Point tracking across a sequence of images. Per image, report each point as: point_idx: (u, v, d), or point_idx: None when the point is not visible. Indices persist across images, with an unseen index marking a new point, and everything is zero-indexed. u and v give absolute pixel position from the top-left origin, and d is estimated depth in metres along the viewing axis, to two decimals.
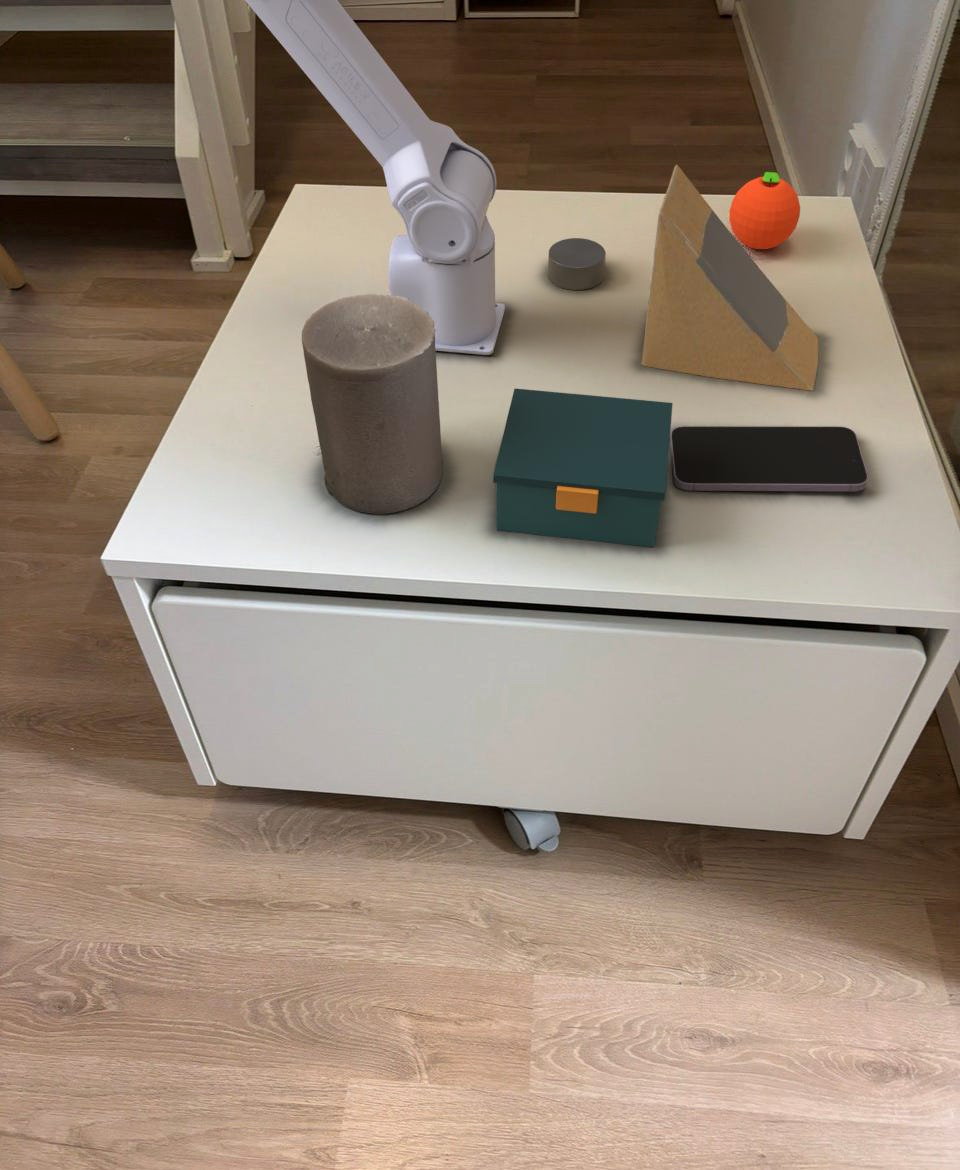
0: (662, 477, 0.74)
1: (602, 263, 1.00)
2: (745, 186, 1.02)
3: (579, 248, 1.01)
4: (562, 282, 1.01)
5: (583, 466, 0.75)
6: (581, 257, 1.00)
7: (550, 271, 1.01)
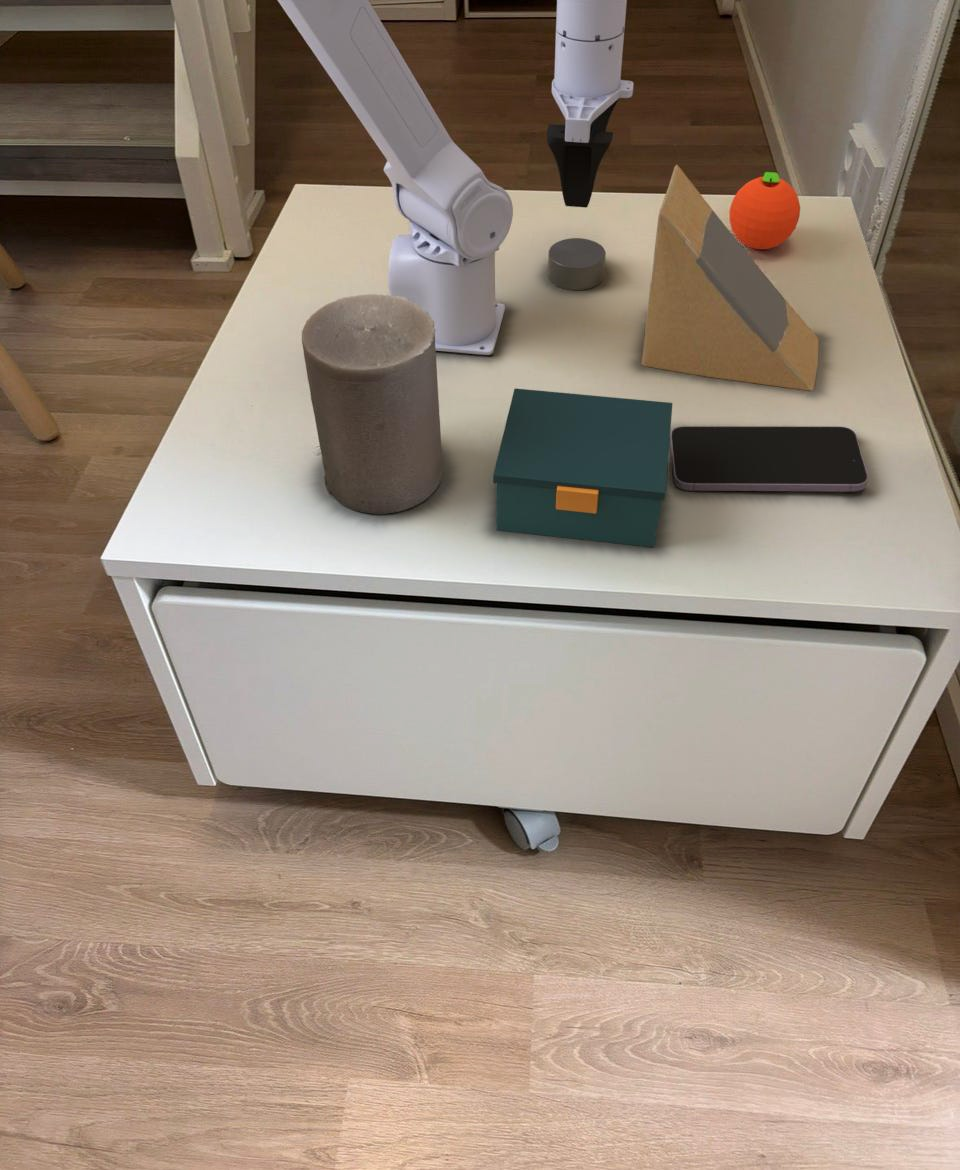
0: (662, 477, 0.74)
1: (602, 263, 1.00)
2: (745, 186, 1.02)
3: (579, 248, 1.01)
4: (562, 282, 1.01)
5: (583, 466, 0.75)
6: (581, 257, 1.00)
7: (550, 271, 1.01)
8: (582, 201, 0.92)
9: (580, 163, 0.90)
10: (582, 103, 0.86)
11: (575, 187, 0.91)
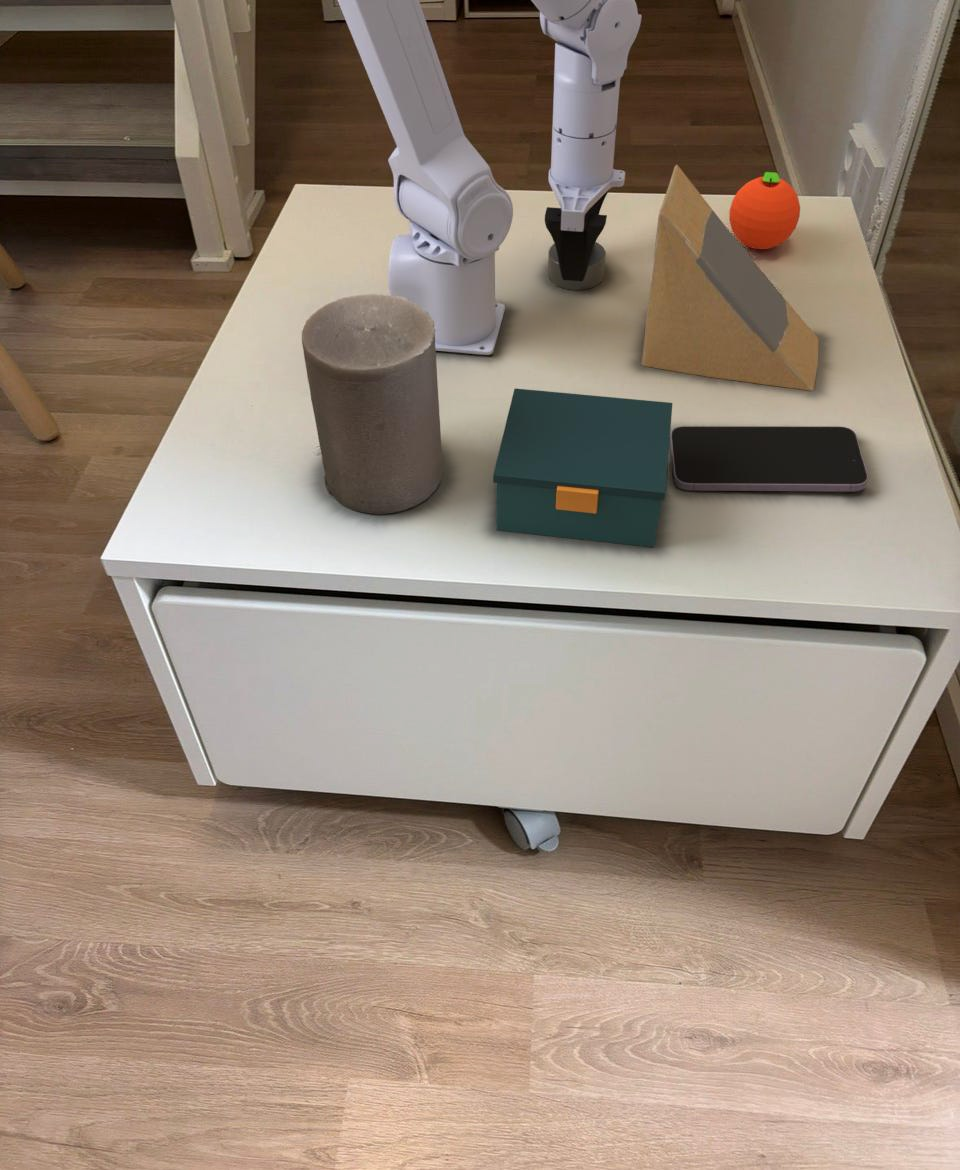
0: (662, 477, 0.74)
1: (602, 263, 1.00)
2: (745, 186, 1.02)
3: None
4: (562, 282, 1.01)
5: (583, 466, 0.75)
6: None
7: (550, 271, 1.01)
8: (578, 275, 0.99)
9: (576, 242, 0.96)
10: (577, 194, 0.92)
11: (571, 263, 0.98)
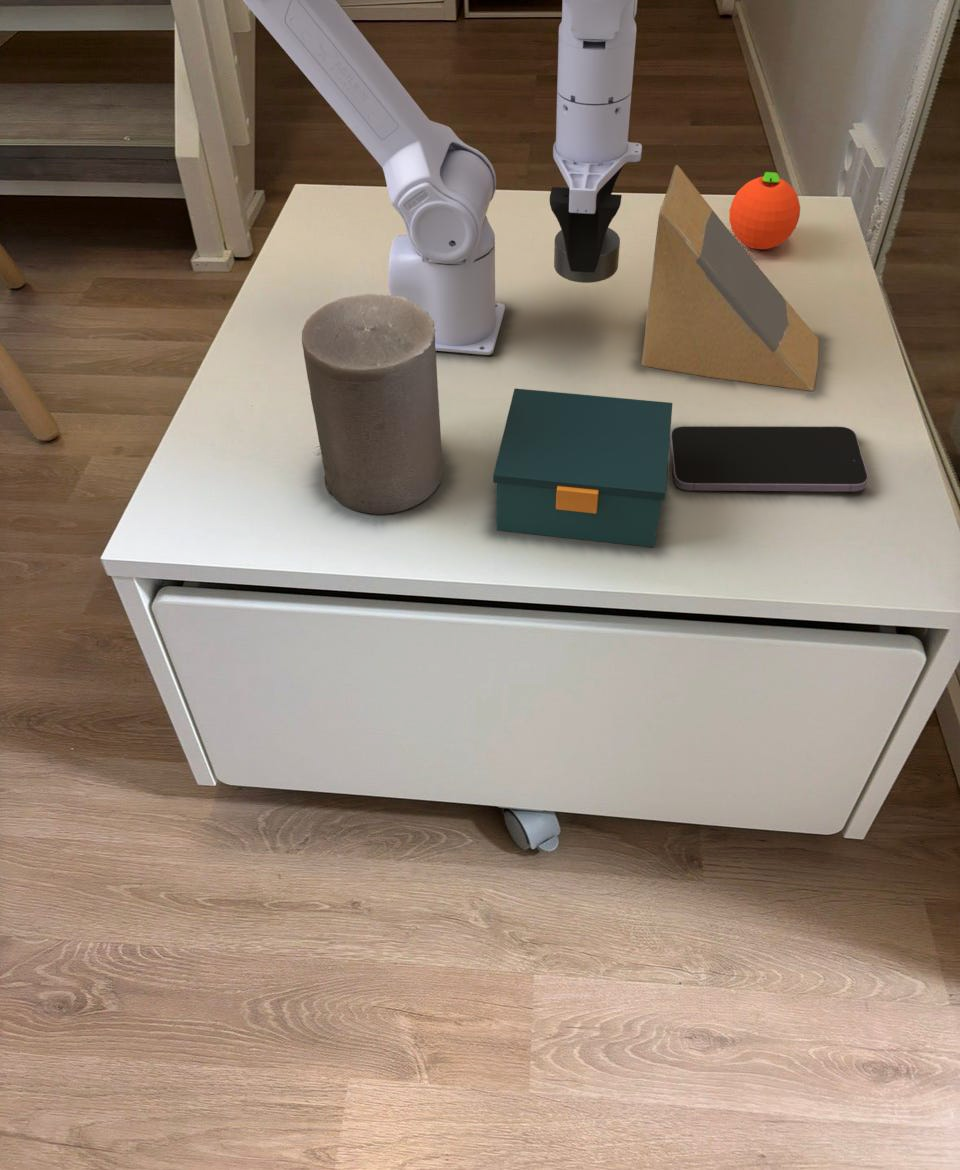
0: (662, 477, 0.74)
1: (616, 251, 0.87)
2: (745, 186, 1.02)
3: None
4: (570, 274, 0.88)
5: (583, 466, 0.75)
6: None
7: (557, 261, 0.88)
8: (589, 266, 0.86)
9: (586, 227, 0.83)
10: (587, 170, 0.79)
11: (581, 252, 0.85)
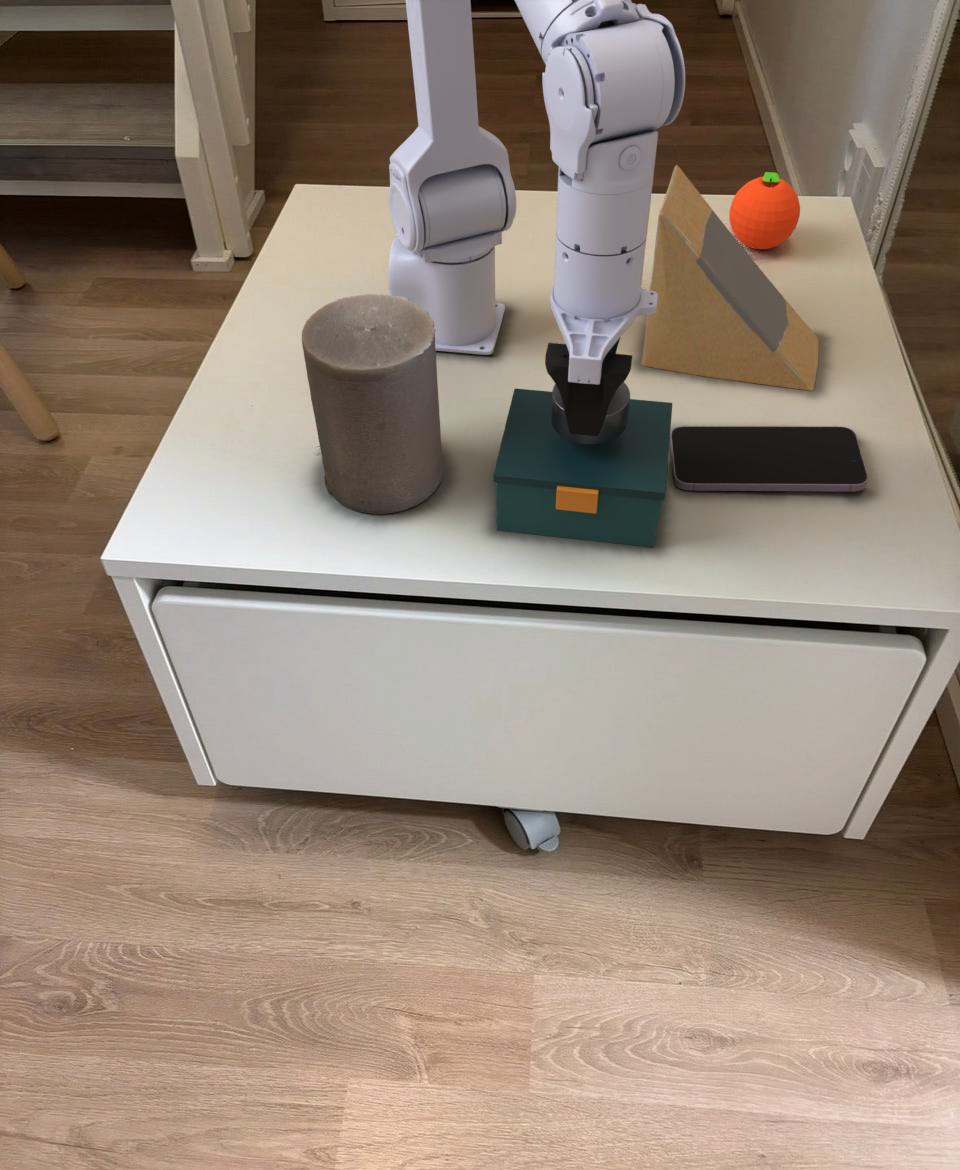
0: (662, 477, 0.74)
1: (626, 409, 0.73)
2: (745, 186, 1.02)
3: None
4: (571, 434, 0.74)
5: (583, 466, 0.75)
6: None
7: (554, 418, 0.74)
8: (592, 429, 0.72)
9: (589, 389, 0.69)
10: (591, 329, 0.65)
11: (582, 414, 0.71)
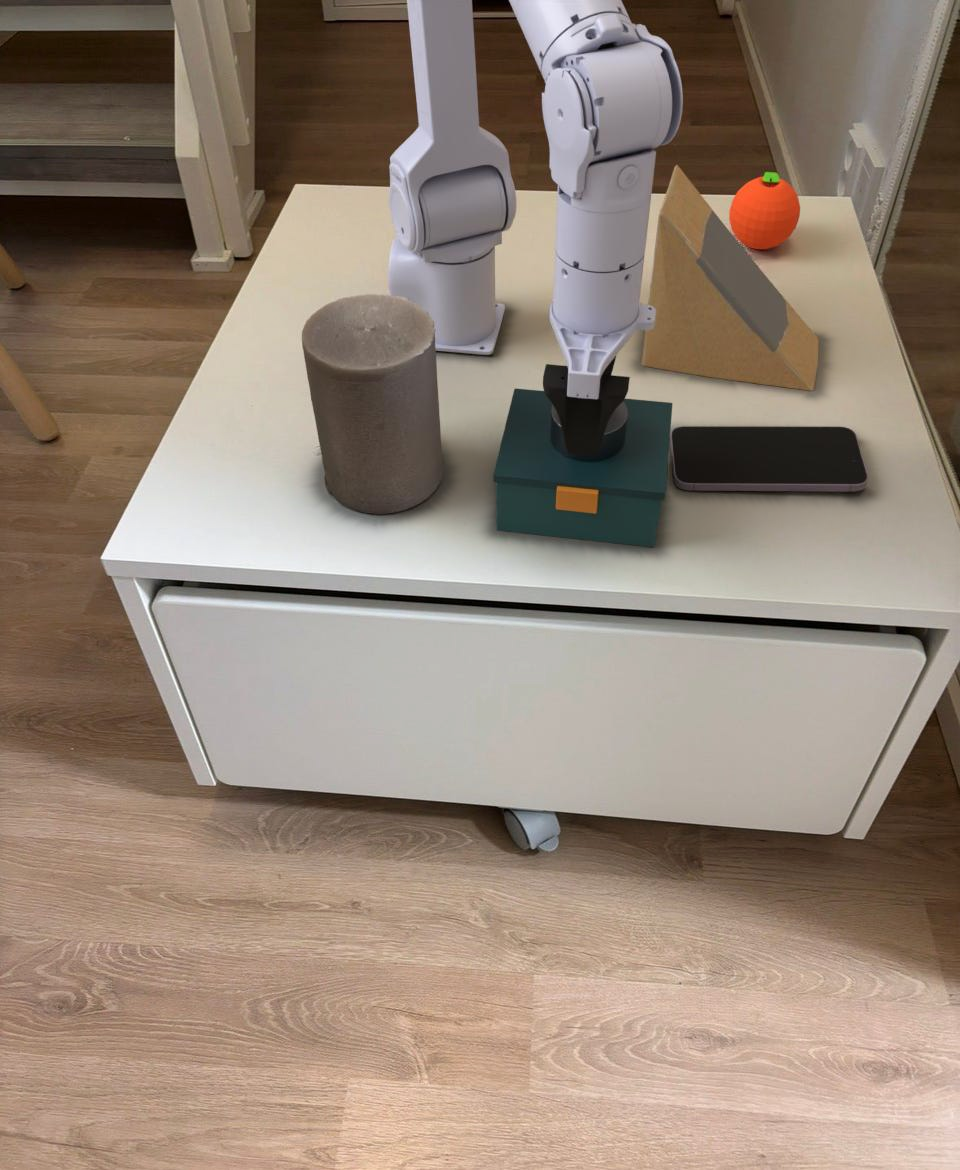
0: (662, 477, 0.74)
1: (623, 427, 0.74)
2: (745, 186, 1.02)
3: None
4: None
5: (583, 466, 0.75)
6: None
7: (553, 435, 0.75)
8: (589, 449, 0.72)
9: (586, 410, 0.69)
10: (589, 345, 0.66)
11: (580, 434, 0.71)
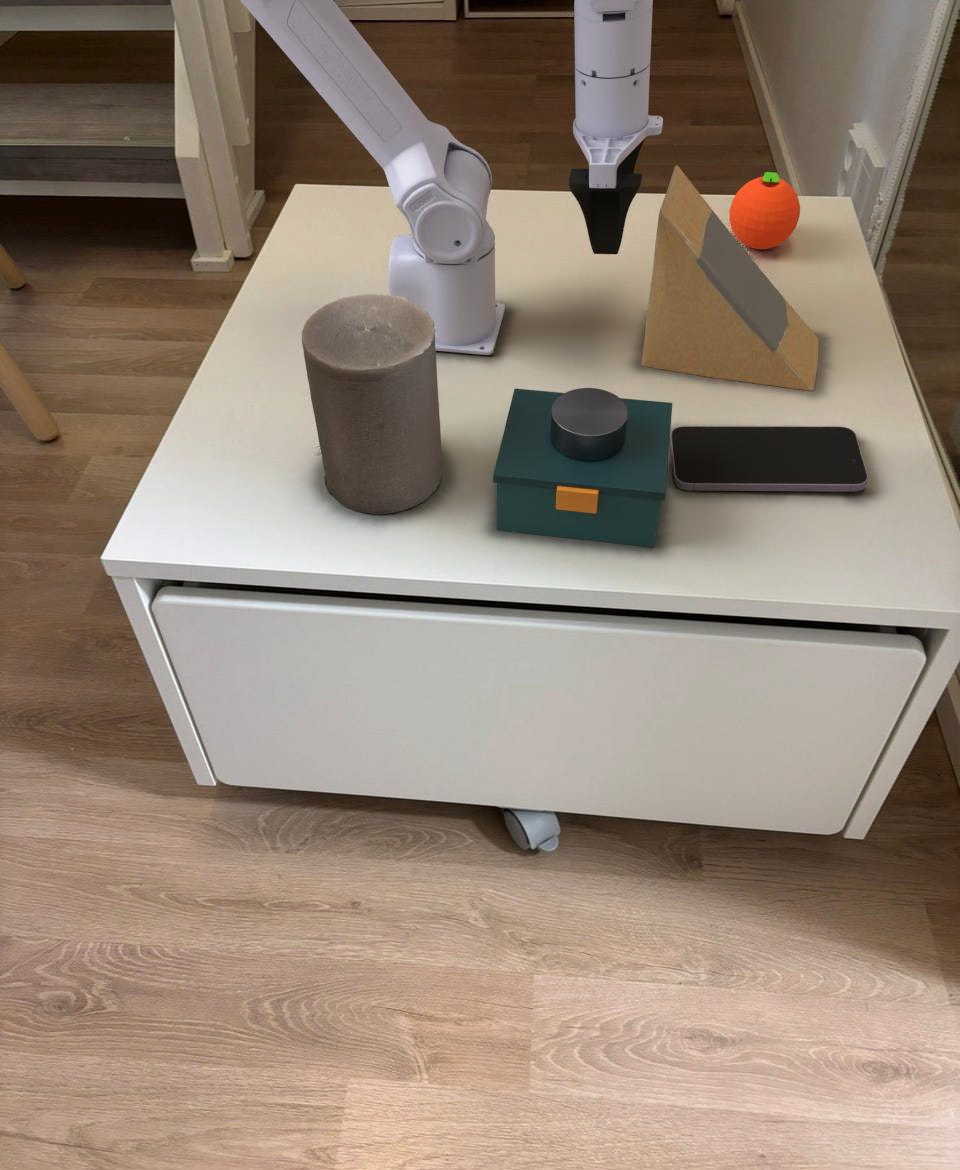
0: (662, 477, 0.74)
1: (623, 427, 0.74)
2: (745, 186, 1.02)
3: (593, 405, 0.75)
4: (569, 452, 0.75)
5: (583, 466, 0.75)
6: (596, 418, 0.74)
7: (553, 435, 0.75)
8: (612, 247, 0.85)
9: (607, 208, 0.82)
10: (607, 145, 0.79)
11: (603, 234, 0.84)
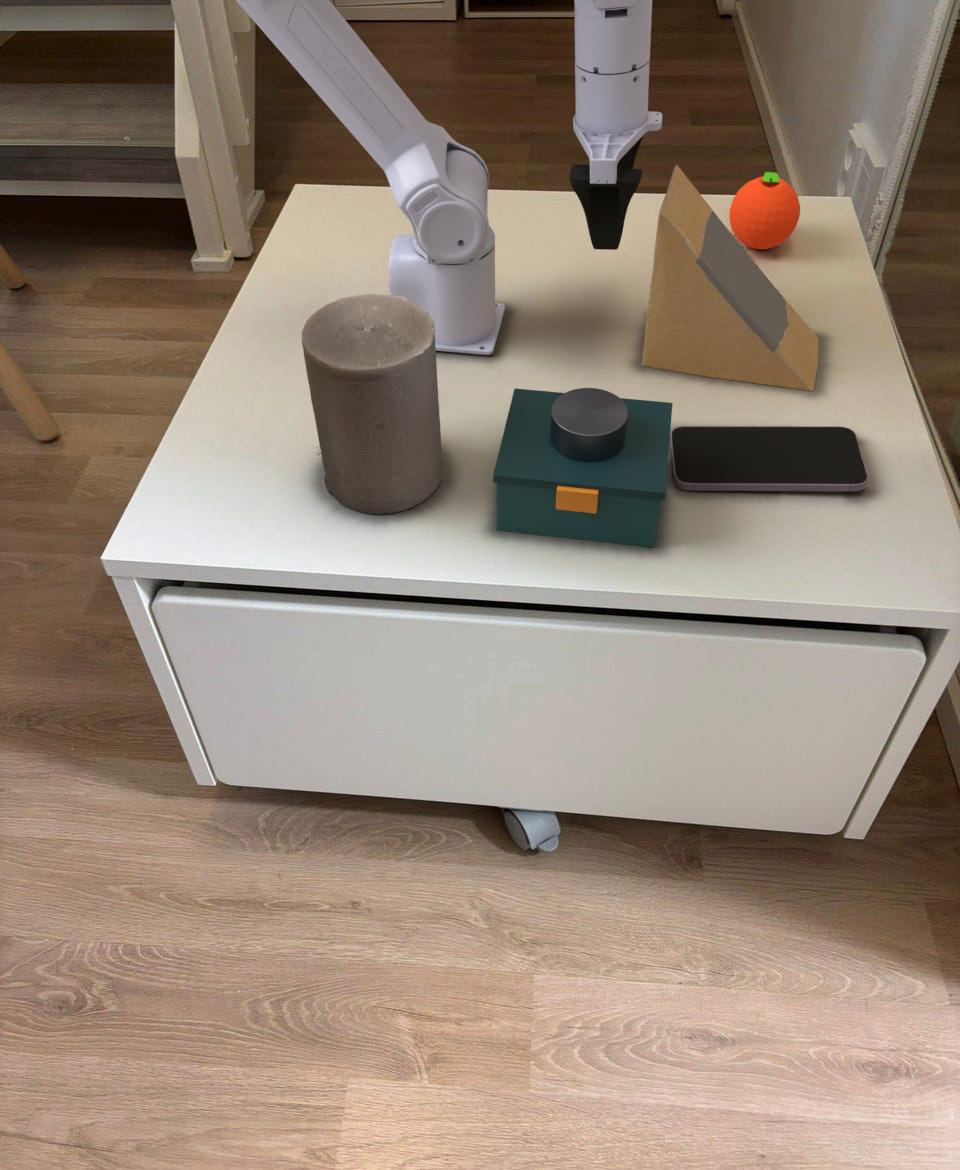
0: (662, 477, 0.74)
1: (623, 427, 0.74)
2: (745, 186, 1.02)
3: (593, 405, 0.75)
4: (569, 452, 0.75)
5: (583, 466, 0.75)
6: (596, 418, 0.74)
7: (553, 435, 0.75)
8: (612, 243, 0.85)
9: (608, 204, 0.83)
10: (607, 141, 0.79)
11: (603, 229, 0.84)
